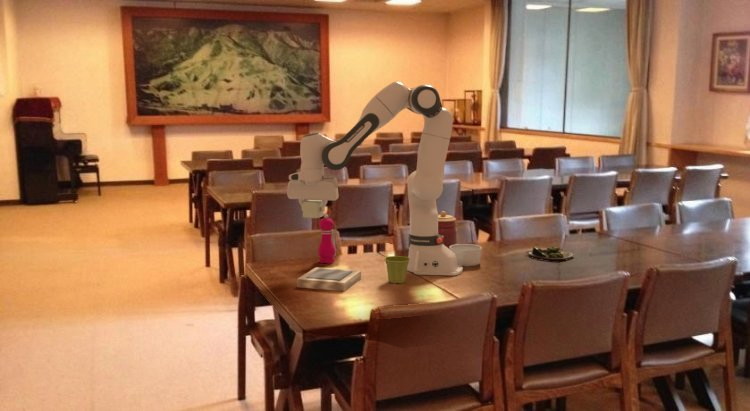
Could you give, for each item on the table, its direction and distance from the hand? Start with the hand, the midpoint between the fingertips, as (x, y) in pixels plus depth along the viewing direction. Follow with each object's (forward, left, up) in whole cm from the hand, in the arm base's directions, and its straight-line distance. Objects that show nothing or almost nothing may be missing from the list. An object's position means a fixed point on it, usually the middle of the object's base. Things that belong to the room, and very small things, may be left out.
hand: (313, 211), depth 261 cm
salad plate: (-86, -53, -24) cm, 104 cm away
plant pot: (-35, +5, -24) cm, 43 cm away
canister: (-40, -53, -24) cm, 71 cm away
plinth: (-12, +14, -24) cm, 30 cm away
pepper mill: (+1, -16, -24) cm, 29 cm away
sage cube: (0, 0, -2) cm, 2 cm away
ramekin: (-54, -31, -24) cm, 67 cm away
